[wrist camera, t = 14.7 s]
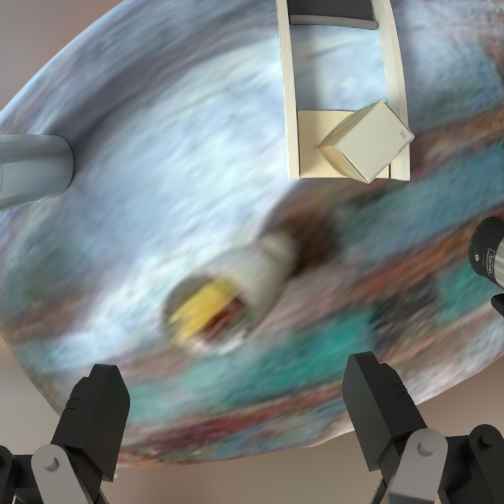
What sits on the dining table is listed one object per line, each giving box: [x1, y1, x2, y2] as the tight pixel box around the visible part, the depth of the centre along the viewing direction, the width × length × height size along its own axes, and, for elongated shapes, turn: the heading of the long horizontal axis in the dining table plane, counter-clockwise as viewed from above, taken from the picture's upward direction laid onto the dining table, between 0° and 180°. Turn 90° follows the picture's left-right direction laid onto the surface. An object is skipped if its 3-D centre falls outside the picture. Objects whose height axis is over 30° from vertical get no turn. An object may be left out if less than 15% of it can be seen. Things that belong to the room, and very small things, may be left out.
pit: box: [288, 0, 378, 30], centre depth 27 cm, size 11×7×1 cm, turn 93°
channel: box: [276, 0, 410, 180], centre depth 29 cm, size 14×27×4 cm, turn 3°
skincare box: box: [315, 100, 414, 183], centre depth 27 cm, size 6×4×12 cm
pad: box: [297, 110, 389, 178], centre depth 33 cm, size 11×8×1 cm
